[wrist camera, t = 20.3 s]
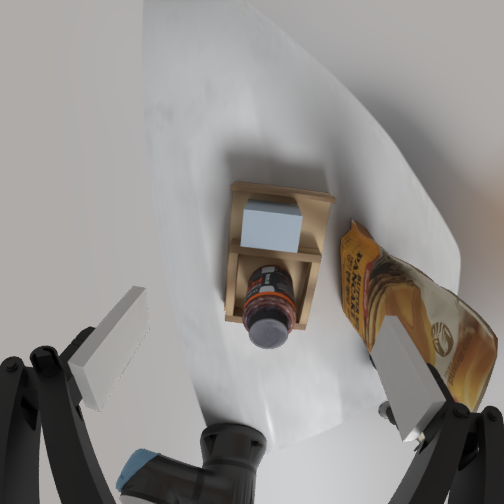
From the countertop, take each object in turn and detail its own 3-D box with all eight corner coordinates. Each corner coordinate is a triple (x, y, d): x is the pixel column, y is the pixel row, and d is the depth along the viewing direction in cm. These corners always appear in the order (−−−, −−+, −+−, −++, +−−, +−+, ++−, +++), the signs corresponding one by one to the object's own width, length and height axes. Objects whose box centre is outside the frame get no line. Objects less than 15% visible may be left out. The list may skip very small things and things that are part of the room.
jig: (306, 314, 41) (308, 330, 38) (225, 305, 42) (221, 320, 38) (329, 193, 35) (336, 199, 31) (235, 181, 35) (230, 185, 32)
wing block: (293, 235, 36) (297, 252, 30) (245, 230, 36) (240, 246, 30) (298, 204, 34) (302, 216, 29) (248, 198, 34) (243, 209, 29)
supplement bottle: (256, 256, 37) (249, 302, 26) (299, 270, 37) (308, 319, 27) (243, 294, 39) (232, 347, 29) (283, 307, 39) (285, 362, 29)
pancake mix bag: (381, 204, 35) (536, 321, 9) (380, 323, 41) (444, 476, 15) (334, 209, 36) (448, 356, 10) (339, 330, 42) (381, 497, 16)
